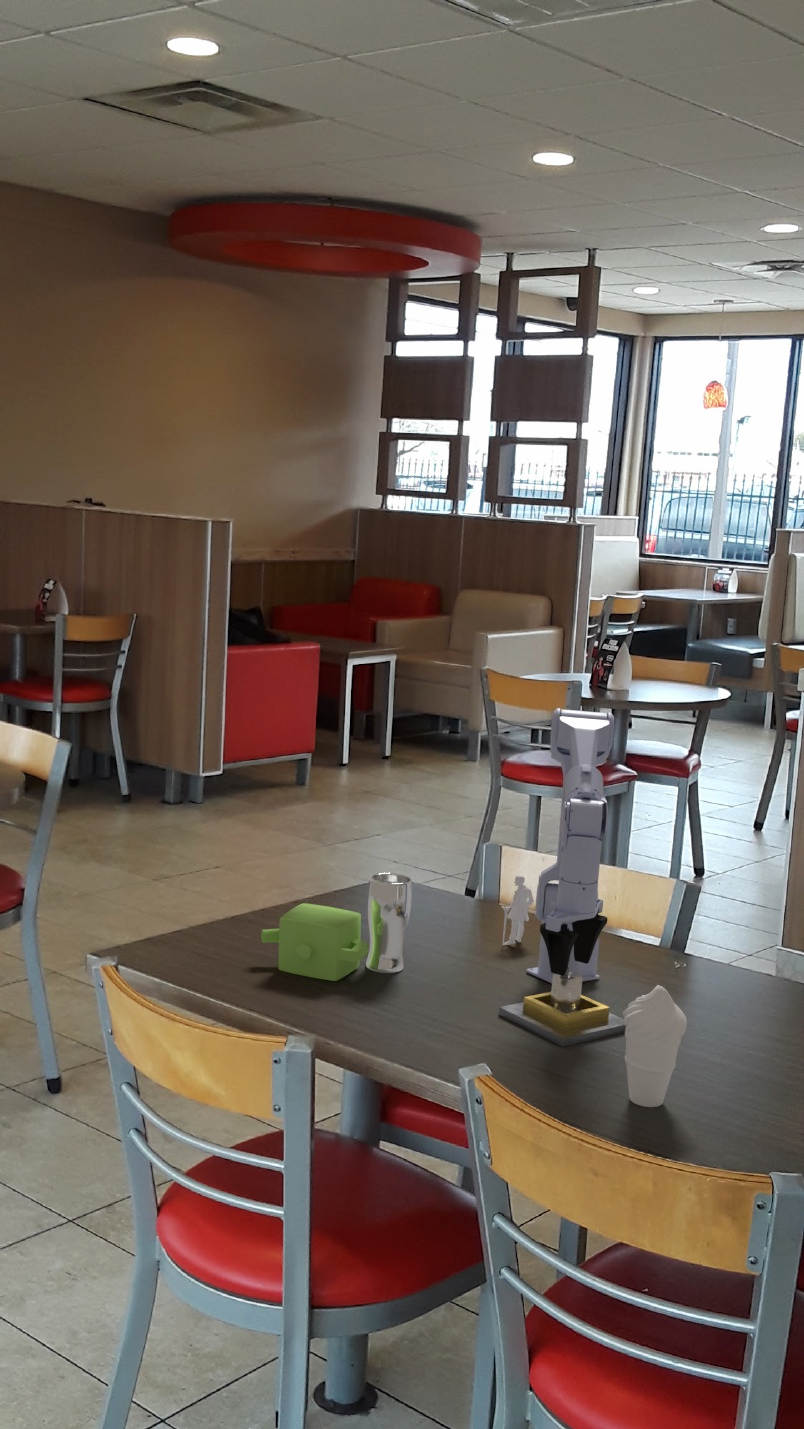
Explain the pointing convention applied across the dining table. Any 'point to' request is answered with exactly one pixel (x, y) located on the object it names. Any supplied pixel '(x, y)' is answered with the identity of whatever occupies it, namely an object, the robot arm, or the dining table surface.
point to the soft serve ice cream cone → (652, 1045)
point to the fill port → (564, 1020)
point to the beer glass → (388, 921)
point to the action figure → (518, 910)
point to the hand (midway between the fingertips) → (569, 967)
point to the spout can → (566, 992)
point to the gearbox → (318, 941)
